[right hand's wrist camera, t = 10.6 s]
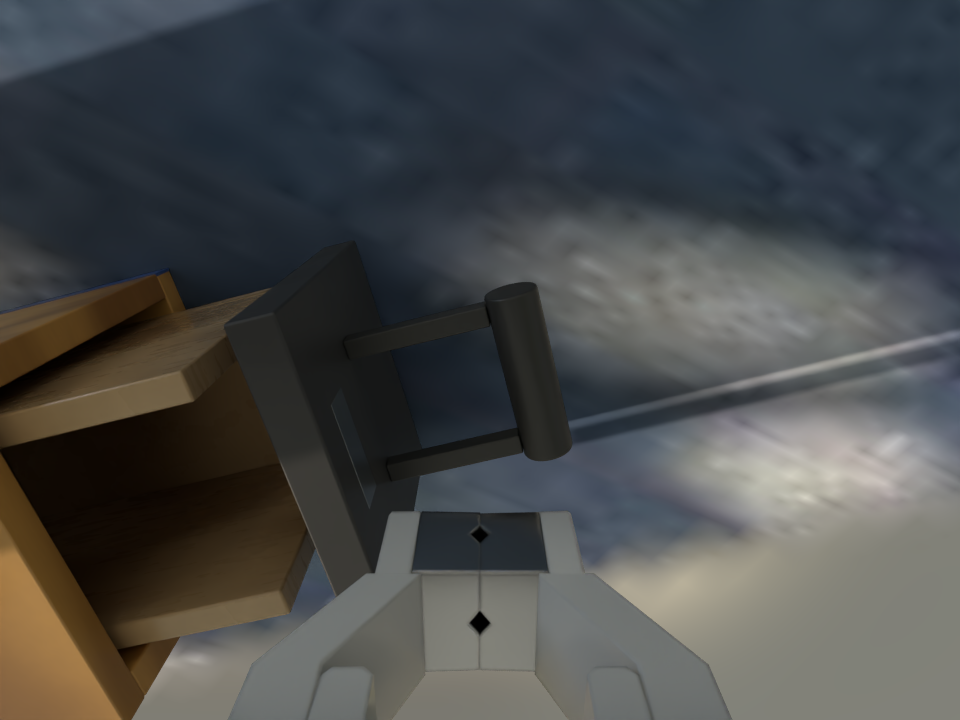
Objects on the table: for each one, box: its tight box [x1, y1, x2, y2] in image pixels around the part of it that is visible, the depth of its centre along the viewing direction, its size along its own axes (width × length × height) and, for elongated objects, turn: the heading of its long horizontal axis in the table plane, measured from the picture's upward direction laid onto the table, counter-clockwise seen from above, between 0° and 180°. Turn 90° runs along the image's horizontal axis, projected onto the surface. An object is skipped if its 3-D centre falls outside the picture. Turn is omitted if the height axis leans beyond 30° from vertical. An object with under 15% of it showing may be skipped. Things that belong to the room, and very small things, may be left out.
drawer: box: [0, 241, 572, 649], centre depth 19 cm, size 22×9×9 cm, turn 104°
